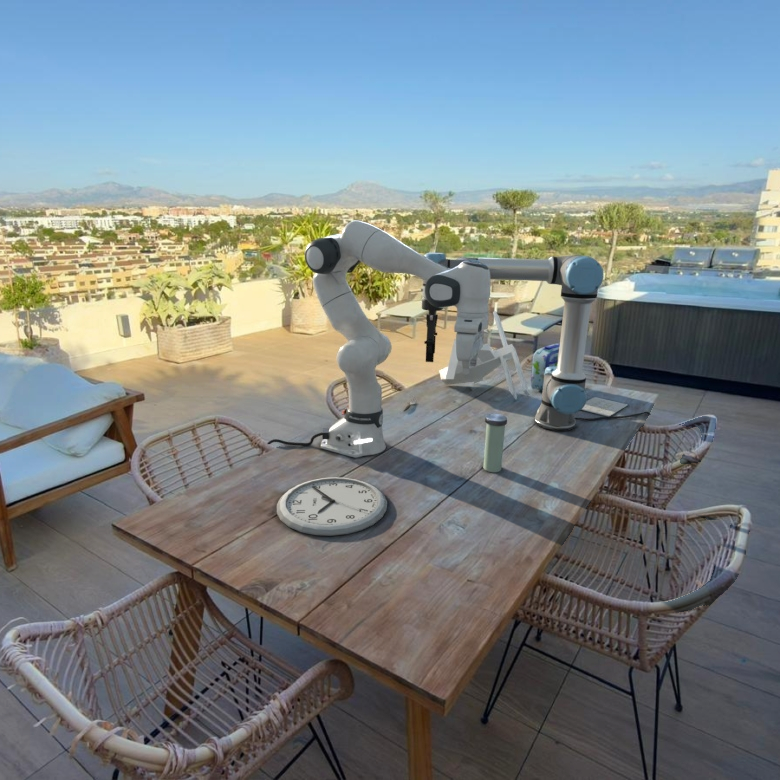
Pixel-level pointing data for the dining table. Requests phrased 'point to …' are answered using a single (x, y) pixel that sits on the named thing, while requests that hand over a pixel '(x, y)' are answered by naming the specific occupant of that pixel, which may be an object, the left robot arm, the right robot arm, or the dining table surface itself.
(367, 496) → the wall clock
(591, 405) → the invitation card
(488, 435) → the jar
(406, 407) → the fork
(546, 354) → the lunch box
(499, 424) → the lid
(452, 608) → the dining table surface
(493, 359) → the white plastic object
